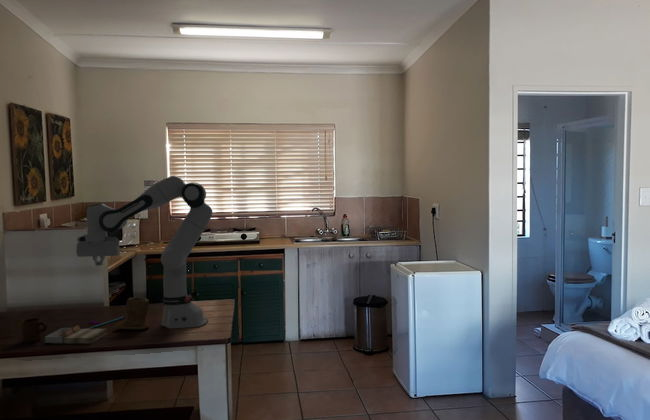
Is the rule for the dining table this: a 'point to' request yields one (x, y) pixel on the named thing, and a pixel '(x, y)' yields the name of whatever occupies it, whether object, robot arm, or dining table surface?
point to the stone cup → (135, 314)
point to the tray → (53, 336)
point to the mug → (33, 330)
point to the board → (85, 336)
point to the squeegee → (103, 323)
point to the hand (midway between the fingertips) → (99, 265)
